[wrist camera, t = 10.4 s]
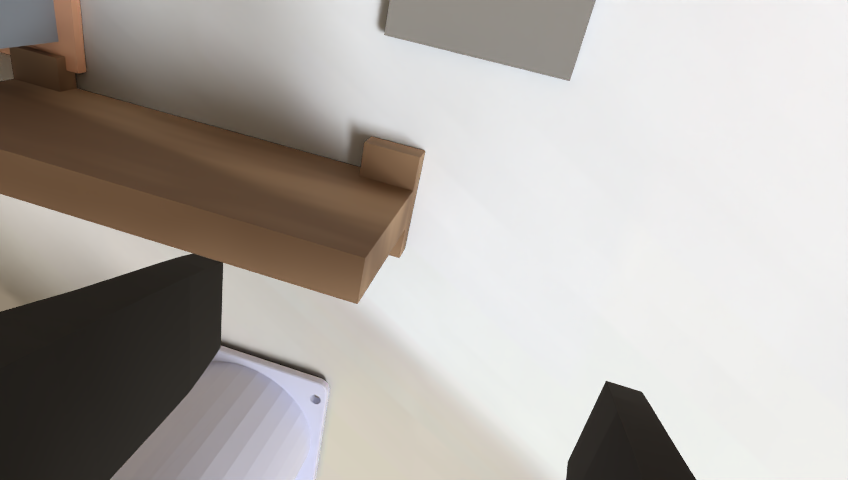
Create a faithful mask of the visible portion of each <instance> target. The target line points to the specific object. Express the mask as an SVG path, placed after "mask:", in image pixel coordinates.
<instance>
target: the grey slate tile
mask: <svg viewBox="0 0 848 480" xmlns="http://www.w3.org/2000/svg"><path fill="white" fill-rule="evenodd" d="M594 4H595V0H390V2H389V8H388V15H387V21H386V27H385V34H384V35H387V36H391V37H395V38H399V39H403V40H407V41H411V42H415V43H419V44H423V45H427V46H431V47H435V48H439V49H443V50H447V51H451V52H455V53H459V54H463V55H467V56H471V57H475V58H479V59H483V60H487V61H492V62H496V63H500V64H504V65H508V66H512V67H516V68H520V69H524V70H528V71H532V72H536V73H540V74H544V75H548V76H552V77H556V78H560V79H564V80H568V81H570V78H571V75H572V72H573V69H574V66H575V63H576V60H577V57H578V53H579V50H580V47H581V44H582V41H583V38H584V35H585V32H586V29H587V25H588V22H589V19H590V16H591V13H592V10H593V7H594Z"/></svg>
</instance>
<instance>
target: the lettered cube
mask: <svg viewBox="0 0 848 480" xmlns="http://www.w3.org/2000/svg"><path fill="white" fill-rule="evenodd" d="M52 42H59V41H58V33H57V26H56V18H55V10H54V2H53V0H0V49H3V48H11V47H19V46H27V45H36V44H44V43H52Z"/></svg>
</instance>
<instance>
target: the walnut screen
mask: <svg viewBox="0 0 848 480" xmlns="http://www.w3.org/2000/svg"><path fill="white" fill-rule="evenodd" d="M9 49H10V56H11V62H12V69H13V75H14V79H11V80H6V81H0V194H3V195H6V196H9V197H13V198H16V199H19V200H22V201H26V202H29V203H32V204H35V205H39V206H42V207H45V208H48V209H51V210H55V211H58V212H61V213H64V214H68V215H71V216H74V217H77V218H81V219H84V220H87V221H90V222H94V223H97V224H100V225H103V226H106V227H110V228H113V229H116V230H119V231H123V232H126V233H129V234H132V235H136V236H139V237H142V238H145V239H149V240H152V241H155V242H158V243H162V244H165V245H168V246H171V247H174V248H178V249H181V250H184V251H187V252H191V253H194V254H197V255H200V256H204V257H207V258H210V259H213V260H217V261H220V262H223V263H226V264H230V265H233V266H236V267H239V268H242V269H246V270H249V271H252V272H255V273H259V274H262V275H265V276H268V277H272V278H275V279H278V280H281V281H285V282H288V283H291V284H294V285H298V286H301V287H304V288H307V289H310V290H314V291H317V292H320V293H323V294H327V295H330V296H333V297H336V298H340V299H343V300H346V301H349V302H353V303H356V304H358V302H359V301H360V299H361V298H362V296H363V294H364V293H365V291H366V290H367V288H368V287H369V285H370V283H371V282H372V280H373V279H374V277H375V276H376V274H377V272H378V271H379V269H380V268H381V266H382V265H383V263H384V261H385V260H386V258H387V257H388V255H391V256H395V257H398V258H400V256H401V254H402V253H403V251H404V249H405V245H406V241H407V236H408V231H409V226H410V222H411V217H412V212H413V207H414V203H415V198H416V193H417V188H418V184H419V179H420V174H421V169H422V165H423V160H424V155H425V151H424V150H420V149H416V148H413V147H409V146H405V145H402V144H398V143H394V142H391V141H387V140H383V139H380V138H376V137H372V136H371V137H370V138H369V139H368V140H366V141H365V142H364V148H363V154H362V161H361V167H358V166H354V165H351V164H347V163H343V162H340V161H336V160H333V159H329V158H326V157H322V156H318V155H315V154H311V153H308V152H304V151H300V150H297V149H293V148H290V147H286V146H282V145H279V144H275V143H272V142H268V141H265V140H261V139H257V138H254V137H250V136H247V135H243V134H239V133H236V132H232V131H229V130H225V129H221V128H218V127H214V126H211V125H207V124H203V123H200V122H196V121H193V120H189V119H186V118H182V117H178V116H175V115H171V114H168V113H164V112H160V111H157V110H153V109H150V108H146V107H142V106H139V105H135V104H132V103H128V102H125V101H121V100H117V99H114V98H110V97H107V96H103V95H99V94H96V93H92V92H89V91H85V90H81V89H78V88H77V85H76V75H75V73H74V72H71V71H67V70H66V61H65V57H64V56H60V55H56V54H53V53H49V52H45V51H42V50H38V49H34V48H31V47H27V46H19V47H11V48H9Z"/></svg>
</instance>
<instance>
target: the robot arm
mask: <svg viewBox="0 0 848 480" xmlns="http://www.w3.org/2000/svg"><path fill="white" fill-rule="evenodd" d="M222 281H223V262H220V261H216V260H213V259H210V258H207V257H203V256H200V255H197V254H190V255H185V256H181V257H178V258H174V259H171V260H168V261H164V262H161V263H158V264H155V265H152V266H149V267H146V268H142V269H139V270H136V271H133V272H130V273H127V274H124V275H121V276H118V277H115V278H112V279H109V280H106V281H102V282H99V283H96V284H93V285H90V286H87V287H84V288H81V289H78V290H74V291H71V292H68V293H64V294H61V295H57V296H54V297H50V298H47V299H43V300H40V301H36V302H33V303H29V304H26V305H22V306H19V307H16V308H12V309H9V310H5V311H2V312H0V480H316V474H317V468H318V461H319V455H320V449H321V442H322V436H323V430H324V423H325V417H326V411H327V404H328V398H329V392H330V387H329V385H328V383H327V382H326V381H325V380H323V379H321V378H319V377H316V376H312V375H309V374H306V373H303V372H300V371H297V370H294V369H291V368H288V367H285V366H282V365H279V364H276V363H273V362H270V361H267V360H264V359H261V358H258V357H255V356H251V355H248V354H245V353H242V352H239V351H236V350H233V349H230V348H227V347H224V346H221V315H222ZM315 395H316V396H318V397H319V398H317V397H315ZM566 480H696V479H695V477H694V476H693V474H692V472H691V471H690V469H689V468H688V466H687V464H686V463H685V461H684V460H683V458H682V456H681V455H680V453H679V451H678V450H677V448H676V447H675V445H674V443H673V442H672V440H671V438H670V437H669V435H668V434H667V432H666V430H665V429H664V427H663V425H662V424H661V422H660V420H659V419H658V417H657V415H656V414H655V412H654V410H653V409H652V407H651V406H650V404H649V402H648V401H647V399H646V398H645V396H644V395H643V393H642V392H640V391H637V390H634V389H631V388H627V387H624V386H621V385H618V384H614V383H611V382H608V381H606V382H605V385H604V387H603V389H602V391H601V393H600V395H599V397H598V399H597V401H596V404H595V406H594V408H593V410H592V412H591V414H590V416H589V418H588V420H587V423H586V425H585V427H584V429H583V431H582V433H581V435H580V437H579V439H578V442H577V444H576V446H575V448H574V450H573V452H572V454H571V456H570V458H569V461H568V466H567V477H566Z"/></svg>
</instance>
